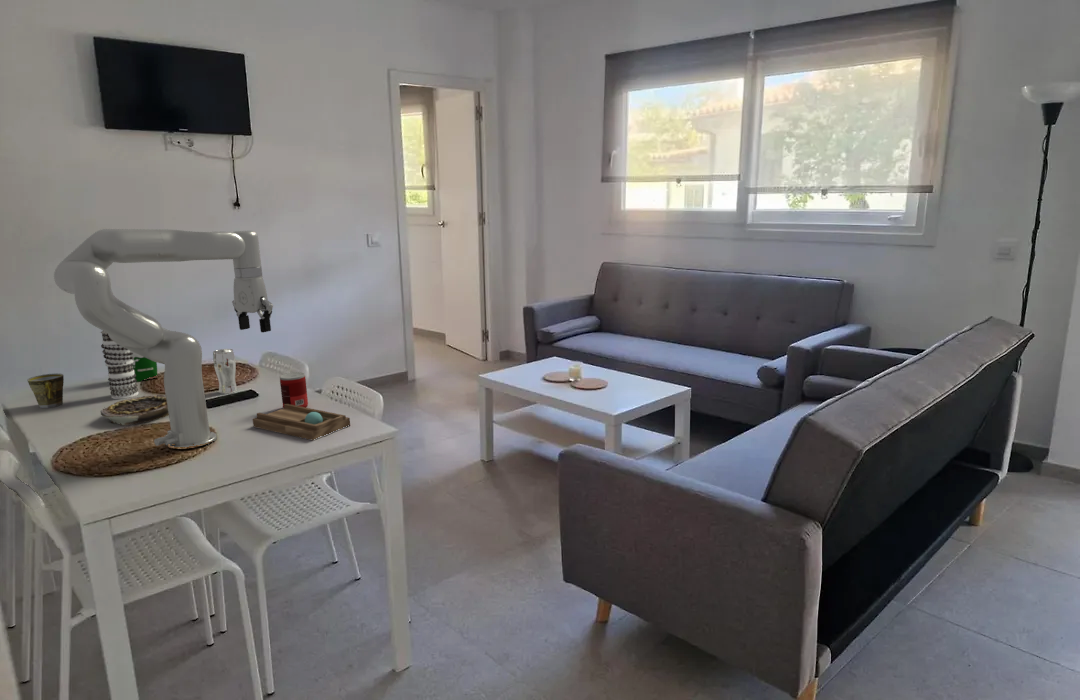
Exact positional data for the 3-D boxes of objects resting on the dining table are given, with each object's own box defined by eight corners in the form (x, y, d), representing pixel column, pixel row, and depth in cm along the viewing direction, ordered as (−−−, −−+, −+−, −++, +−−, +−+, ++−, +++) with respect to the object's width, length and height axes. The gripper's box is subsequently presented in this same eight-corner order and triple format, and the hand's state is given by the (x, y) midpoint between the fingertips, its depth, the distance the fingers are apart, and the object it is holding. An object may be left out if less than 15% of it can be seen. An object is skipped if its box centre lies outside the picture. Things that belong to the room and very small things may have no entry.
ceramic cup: (31, 405, 232) (25, 377, 229) (66, 399, 238) (61, 371, 236) (35, 413, 222) (30, 384, 220) (72, 407, 228) (66, 378, 226)
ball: (314, 423, 196) (303, 412, 197) (310, 434, 199) (299, 423, 200) (328, 416, 200) (316, 406, 202) (323, 428, 203) (312, 417, 204)
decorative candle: (119, 400, 234) (107, 329, 229) (104, 397, 239) (92, 327, 233) (145, 393, 242) (134, 325, 237) (130, 390, 247) (119, 323, 241)
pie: (205, 412, 220) (203, 397, 219) (117, 438, 199) (114, 422, 197) (161, 399, 236) (158, 386, 235) (74, 423, 214) (71, 408, 213)
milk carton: (135, 383, 257) (126, 331, 253) (130, 378, 264) (122, 328, 259) (160, 378, 263) (153, 328, 258) (155, 374, 269) (148, 325, 265)
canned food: (312, 404, 225) (308, 372, 222) (301, 411, 217) (298, 378, 215) (290, 403, 226) (286, 372, 223) (278, 411, 218) (275, 378, 215)
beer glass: (219, 390, 244) (213, 349, 241) (240, 388, 246) (234, 347, 243) (216, 395, 238) (210, 353, 235) (237, 393, 240) (232, 352, 237)
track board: (313, 440, 190) (311, 428, 190) (253, 426, 203) (252, 415, 203) (350, 425, 202) (349, 413, 201) (291, 413, 215) (290, 402, 214)
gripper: (218, 273, 201) (226, 330, 204) (256, 275, 192) (263, 335, 196) (241, 271, 207) (247, 326, 211) (278, 273, 198) (284, 330, 202)
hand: (255, 330), depth 203 cm, fingers open, 9 cm apart
